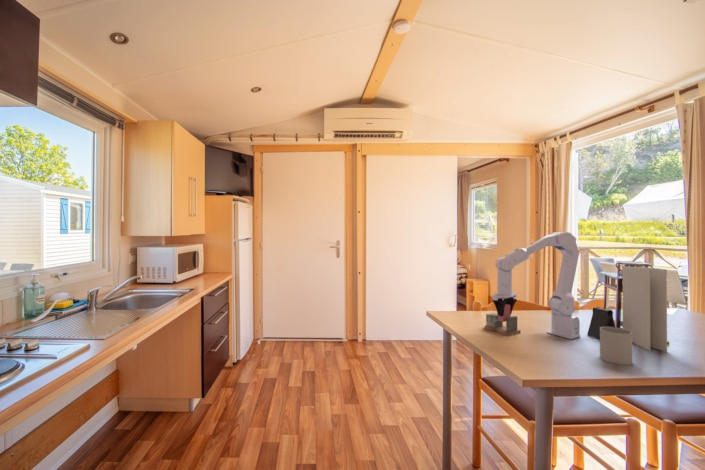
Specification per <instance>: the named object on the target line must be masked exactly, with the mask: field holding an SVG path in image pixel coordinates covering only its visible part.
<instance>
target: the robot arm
mask: <svg viewBox="0 0 705 470" xmlns="http://www.w3.org/2000/svg"><path fill="white" fill-rule="evenodd" d="M546 247H553V248H555V249H557V250H558V251H559V252H560V253H561V254H562V258H561V263H560V264H561V265H560V269H559V274H558V280H557V285H556V289H555V290H554V291H553V292H552V294H551V297H550V298H549V300H548V307H549V308H550V309H551V313H550V314H551V317H550V318H551V329H550V330H549V331H547V332H546V333H547V334H549V335H554V336H557V337H562V338H566V339H568V340H573V339H576V338H579V337H581V334H580V333H581V332H580V327H581V325H580V319H579V317H578V316H574V315H573V314H574V313H575V311H576V305H575V297H574V296H573V293H572V291H573V287H574V282H575V277H576V271H577V267H578V266H577V265H578V260H579V257H580V250H579V248H578V245H577V238H576V237H575V236H574V235H573V234H572V233H571V232H568V231H562V232H557V231H556V232H554V231H553V232H551V233H550V234H547V235H544V237H541V238H540V239H538V240H537V241H535V242H533V243H531V244H529V245H528V246H527V247H525V248H523V247H519V248H518V247H516V248H514V249H513V251H512V252H510V253H508V254H507V253H506V254H504V256H503V257H502V256H501V257H498V259H497V260H496V262H495V267H496V268H497V292H495V294H493V295H492V297H491V299H492V300H491V301H492V303H493V305H494V306H495V310H496V313H498V316H503V315H504V308H505V304H510V316H511V315H512V312H513V309H514V307H515V304H516V303H517V301H518V300H517V293H516V292H513V274H512V273H513V270H514V268H515V267H516V266H517V265H520V264H521V263H523V262H525V261H527V260H529V258H530V255H532V254H535V253H536V252H538V251H540V250H542V249H544V248H546Z"/></svg>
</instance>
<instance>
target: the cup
mask: <svg viewBox="0 0 705 470" xmlns="http://www.w3.org/2000/svg"><path fill="white" fill-rule="evenodd" d="M615 327H616V326H615ZM615 327H600V339H599V358H600V359H601V360H604V361H606V362H609V363H613V364H616V365H624V366H625V365H626V366H628V365H629V366H630V365H632V364H633V343H632V332H631V331H628V330H625V329H623V328H620V327H616V328H615Z"/></svg>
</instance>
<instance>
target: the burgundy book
mask: <svg viewBox="0 0 705 470" xmlns="http://www.w3.org/2000/svg"><path fill="white" fill-rule="evenodd" d="M506 317H511V315H510V304H505V308H504V315H503V316H498V321H502V322H503V323H504V322H505V323H506Z"/></svg>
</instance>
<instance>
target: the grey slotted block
mask: <svg viewBox="0 0 705 470" xmlns="http://www.w3.org/2000/svg"><path fill="white" fill-rule="evenodd" d="M485 316H486V317H485V325H483V326H484V327H483V328H484V329H485V330H488V331H491V332H495V333H498V334H502V335H505V336H509V337H510V336H515V335H517V334H521V330H520V329H519V328H518V316H517V315H513V316H511V315H510V317H506V321H505V325H504V322H502V321H498V313H497V312H489V313H485Z"/></svg>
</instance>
